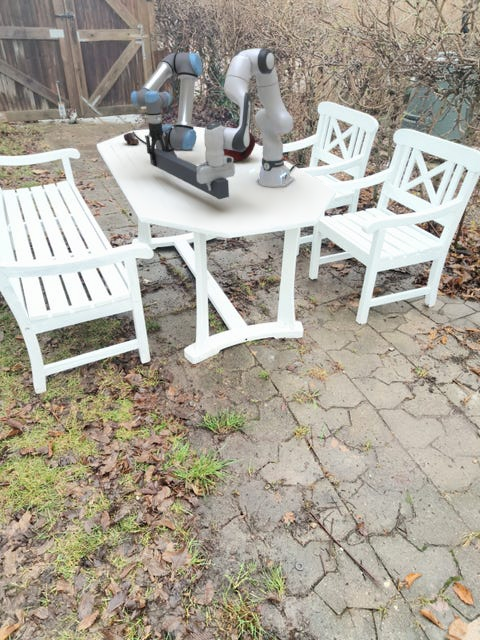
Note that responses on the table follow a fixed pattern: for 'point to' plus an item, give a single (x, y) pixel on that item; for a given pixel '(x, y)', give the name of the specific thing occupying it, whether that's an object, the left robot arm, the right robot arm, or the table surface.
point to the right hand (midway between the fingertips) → (216, 188)
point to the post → (189, 173)
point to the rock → (131, 138)
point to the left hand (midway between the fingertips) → (159, 164)
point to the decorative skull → (241, 155)
